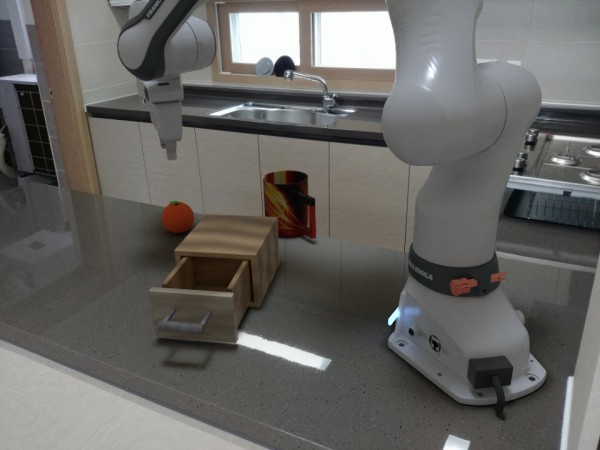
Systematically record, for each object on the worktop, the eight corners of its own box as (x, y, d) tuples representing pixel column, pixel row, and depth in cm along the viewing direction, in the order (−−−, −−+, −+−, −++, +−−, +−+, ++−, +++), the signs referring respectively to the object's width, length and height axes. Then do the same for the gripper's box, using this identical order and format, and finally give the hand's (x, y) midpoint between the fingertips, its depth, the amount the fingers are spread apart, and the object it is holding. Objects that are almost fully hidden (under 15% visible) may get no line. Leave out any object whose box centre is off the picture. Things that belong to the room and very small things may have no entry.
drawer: (226, 363, 74) (221, 315, 71) (141, 355, 77) (133, 308, 73) (260, 292, 92) (257, 251, 89) (190, 287, 94) (185, 247, 91)
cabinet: (259, 307, 89) (255, 255, 85) (181, 301, 91) (174, 250, 88) (279, 263, 103) (277, 217, 99) (211, 259, 106) (206, 213, 102)
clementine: (157, 229, 120) (153, 199, 118) (187, 221, 124) (183, 192, 121) (170, 241, 114) (166, 210, 111) (200, 233, 118) (197, 203, 115)
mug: (314, 244, 111) (313, 190, 106) (257, 233, 117) (254, 181, 112) (333, 227, 118) (333, 175, 114) (279, 217, 124) (277, 168, 120)
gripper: (138, 80, 114) (147, 143, 120) (149, 95, 97) (159, 168, 102) (168, 77, 116) (176, 140, 122) (184, 92, 99) (192, 164, 104)
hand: (168, 153), depth 112 cm, fingers open, 8 cm apart
